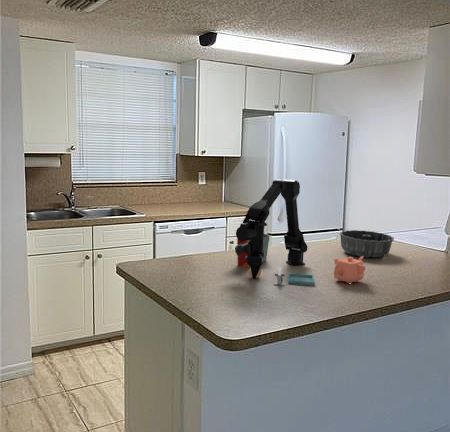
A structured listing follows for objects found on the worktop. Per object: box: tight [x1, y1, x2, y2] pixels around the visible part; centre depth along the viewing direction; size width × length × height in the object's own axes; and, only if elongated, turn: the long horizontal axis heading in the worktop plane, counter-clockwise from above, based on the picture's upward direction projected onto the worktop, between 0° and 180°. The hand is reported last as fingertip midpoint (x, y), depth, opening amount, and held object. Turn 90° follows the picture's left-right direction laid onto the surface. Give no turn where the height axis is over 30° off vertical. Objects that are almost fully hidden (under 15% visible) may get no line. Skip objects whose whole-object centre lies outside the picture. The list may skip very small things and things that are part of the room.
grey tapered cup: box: [262, 233, 271, 263], centre depth 222 cm, size 10×10×12 cm
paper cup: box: [236, 238, 251, 268], centre depth 211 cm, size 8×8×14 cm
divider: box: [273, 264, 286, 287], centre depth 192 cm, size 16×4×4 cm, turn 172°
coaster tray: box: [287, 272, 316, 286], centre depth 192 cm, size 10×10×2 cm
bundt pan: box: [339, 229, 395, 258], centre depth 242 cm, size 26×26×10 cm
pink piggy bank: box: [333, 256, 366, 284], centre depth 193 cm, size 14×12×10 cm
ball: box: [248, 267, 262, 279], centre depth 194 cm, size 5×5×5 cm
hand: (254, 275), depth 194 cm, fingers open, 9 cm apart
